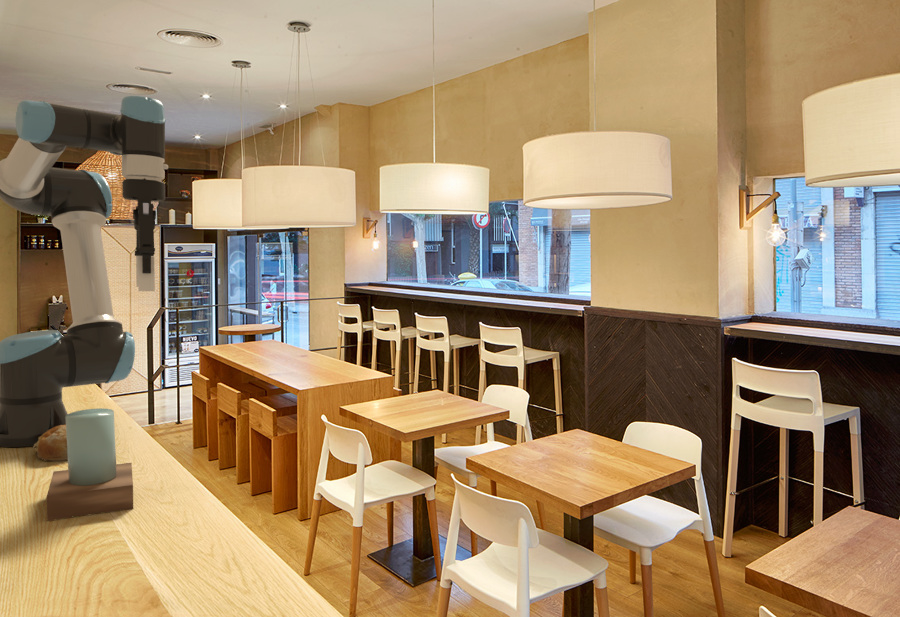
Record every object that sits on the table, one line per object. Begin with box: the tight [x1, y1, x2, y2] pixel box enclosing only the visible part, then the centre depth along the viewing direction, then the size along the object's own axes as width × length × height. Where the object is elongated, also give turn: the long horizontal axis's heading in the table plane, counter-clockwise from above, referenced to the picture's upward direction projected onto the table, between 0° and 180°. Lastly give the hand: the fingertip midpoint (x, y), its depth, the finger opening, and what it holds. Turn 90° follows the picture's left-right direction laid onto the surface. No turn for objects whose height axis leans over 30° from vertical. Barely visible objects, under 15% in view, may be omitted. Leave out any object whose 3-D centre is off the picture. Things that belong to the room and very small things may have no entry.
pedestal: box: [46, 462, 134, 522], centre depth 106 cm, size 12×12×4 cm
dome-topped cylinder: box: [66, 407, 117, 486], centre depth 105 cm, size 7×7×11 cm
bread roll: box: [32, 425, 68, 462], centre depth 129 cm, size 10×10×8 cm
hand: (145, 289), depth 124 cm, fingers open, 13 cm apart
